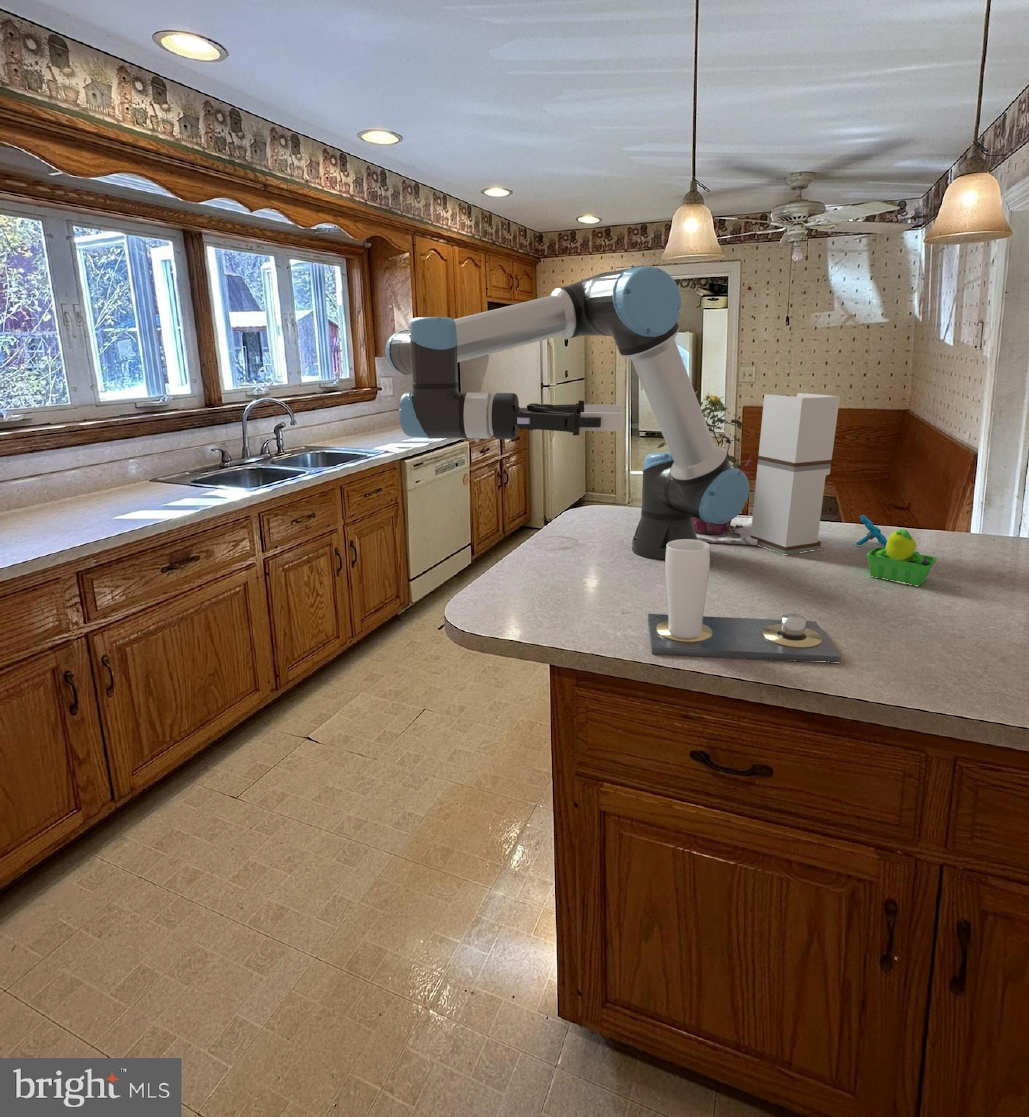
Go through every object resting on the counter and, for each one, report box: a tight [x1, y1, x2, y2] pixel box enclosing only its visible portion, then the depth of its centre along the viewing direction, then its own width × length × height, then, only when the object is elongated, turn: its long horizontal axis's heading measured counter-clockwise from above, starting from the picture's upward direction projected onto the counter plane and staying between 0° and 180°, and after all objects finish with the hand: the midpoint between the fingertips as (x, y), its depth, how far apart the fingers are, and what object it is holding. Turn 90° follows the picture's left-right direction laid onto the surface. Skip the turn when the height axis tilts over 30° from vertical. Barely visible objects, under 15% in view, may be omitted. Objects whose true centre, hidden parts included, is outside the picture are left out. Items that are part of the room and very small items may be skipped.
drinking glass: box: [664, 539, 711, 639], centre depth 112 cm, size 7×7×15 cm
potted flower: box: [657, 390, 757, 546], centre depth 177 cm, size 27×25×35 cm
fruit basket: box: [866, 528, 937, 586], centre depth 142 cm, size 11×9×11 cm
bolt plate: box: [647, 613, 842, 663], centre depth 115 cm, size 28×14×4 cm, turn 82°
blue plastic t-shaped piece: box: [855, 514, 888, 548], centre depth 166 cm, size 11×6×10 cm
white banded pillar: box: [751, 392, 841, 555], centre depth 162 cm, size 11×11×35 cm
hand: (622, 417), depth 115 cm, fingers open, 13 cm apart
